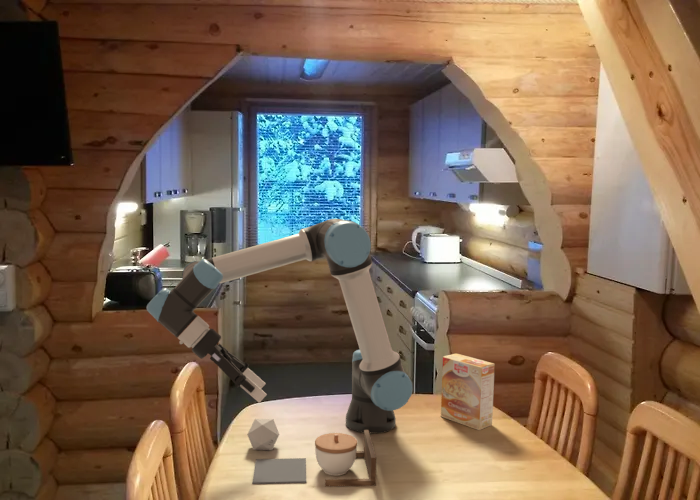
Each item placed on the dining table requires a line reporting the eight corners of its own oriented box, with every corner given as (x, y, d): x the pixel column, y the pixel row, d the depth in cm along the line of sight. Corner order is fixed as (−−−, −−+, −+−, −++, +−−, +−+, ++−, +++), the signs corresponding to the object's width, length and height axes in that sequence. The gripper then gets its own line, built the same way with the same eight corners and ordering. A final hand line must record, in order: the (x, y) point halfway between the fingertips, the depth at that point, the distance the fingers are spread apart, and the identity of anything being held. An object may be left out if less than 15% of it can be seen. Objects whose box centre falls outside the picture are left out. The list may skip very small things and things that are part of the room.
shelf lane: (367, 455, 171) (368, 429, 170) (375, 485, 153) (376, 457, 153) (322, 455, 170) (322, 430, 169) (325, 486, 152) (325, 458, 152)
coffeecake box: (439, 416, 200) (441, 356, 198) (454, 411, 205) (456, 352, 203) (478, 431, 189) (481, 367, 187) (493, 425, 194) (495, 362, 192)
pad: (305, 459, 167) (305, 458, 167) (306, 482, 154) (306, 481, 154) (256, 460, 166) (256, 459, 166) (252, 483, 153) (252, 482, 153)
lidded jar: (336, 457, 169) (337, 423, 168) (365, 470, 161) (366, 435, 160) (305, 469, 161) (306, 434, 160) (334, 484, 154) (335, 447, 153)
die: (265, 459, 168) (285, 427, 170) (238, 441, 169) (258, 410, 171) (268, 457, 176) (287, 427, 178) (242, 440, 177) (262, 410, 179)
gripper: (194, 342, 173) (252, 393, 175) (185, 356, 148) (252, 415, 151) (213, 322, 174) (271, 372, 176) (207, 332, 149) (274, 391, 151)
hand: (262, 392), depth 163 cm, fingers open, 13 cm apart
